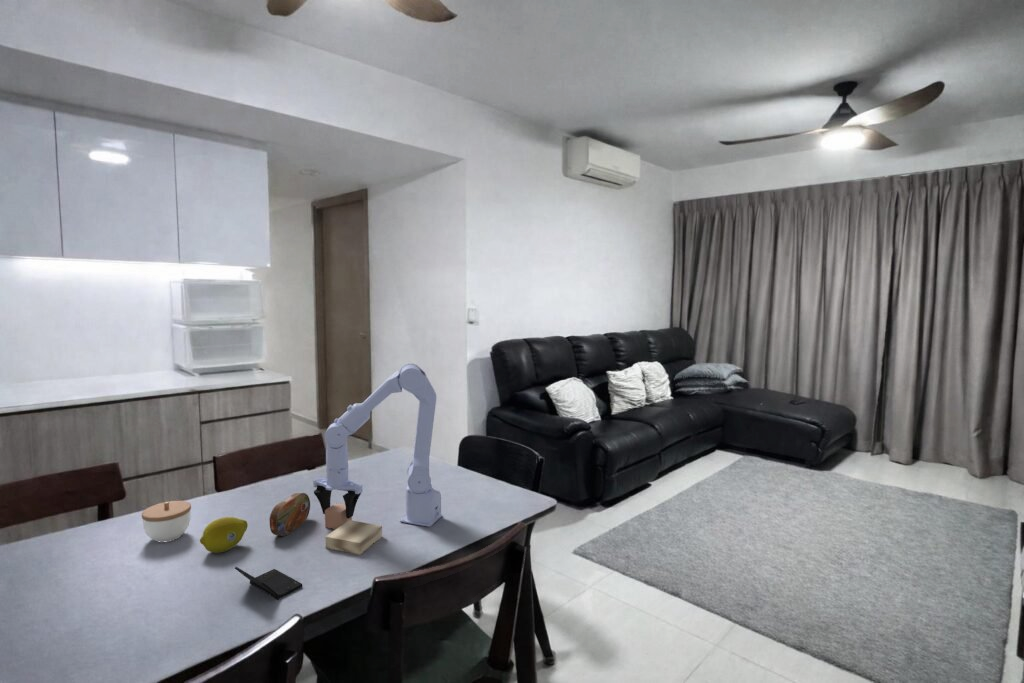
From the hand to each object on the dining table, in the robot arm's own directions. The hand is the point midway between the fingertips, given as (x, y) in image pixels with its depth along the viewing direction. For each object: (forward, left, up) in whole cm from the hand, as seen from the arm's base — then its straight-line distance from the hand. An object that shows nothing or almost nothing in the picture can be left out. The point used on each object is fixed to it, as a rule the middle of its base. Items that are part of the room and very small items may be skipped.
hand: (338, 514), depth 146 cm
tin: (+11, +6, -3) cm, 13 cm away
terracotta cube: (0, 0, -3) cm, 3 cm away
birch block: (-10, +7, -3) cm, 13 cm away
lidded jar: (+37, +21, -3) cm, 43 cm away
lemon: (+18, +21, -3) cm, 28 cm away
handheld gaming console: (-5, +31, -3) cm, 32 cm away
